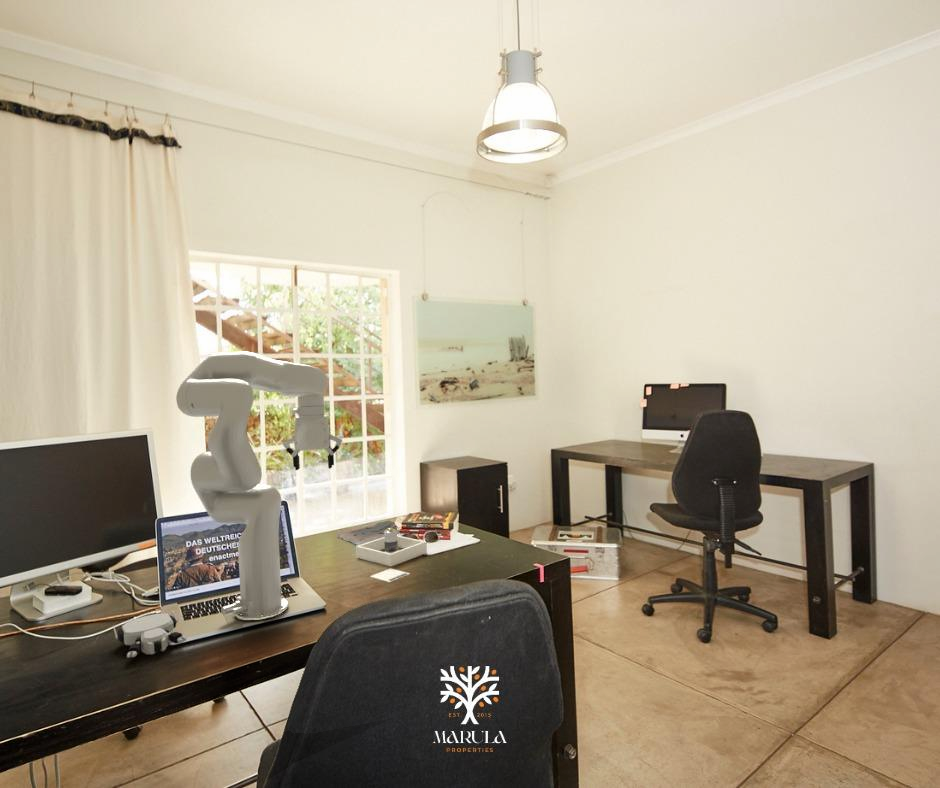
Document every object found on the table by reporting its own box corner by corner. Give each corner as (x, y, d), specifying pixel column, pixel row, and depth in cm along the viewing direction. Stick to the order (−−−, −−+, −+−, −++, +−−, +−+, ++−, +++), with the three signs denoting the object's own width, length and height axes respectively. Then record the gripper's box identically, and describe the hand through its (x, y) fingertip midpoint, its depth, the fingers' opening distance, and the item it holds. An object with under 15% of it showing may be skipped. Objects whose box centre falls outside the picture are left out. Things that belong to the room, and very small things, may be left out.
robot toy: (190, 651, 125) (173, 625, 137) (189, 631, 125) (172, 606, 136) (125, 671, 118) (113, 641, 129) (124, 650, 117) (112, 622, 129)
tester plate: (389, 585, 158) (389, 581, 158) (370, 579, 163) (369, 576, 163) (410, 576, 164) (410, 573, 164) (390, 571, 169) (390, 567, 169)
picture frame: (388, 526, 222) (337, 538, 209) (388, 520, 222) (337, 531, 209) (412, 535, 210) (359, 548, 196) (412, 528, 210) (359, 540, 196)
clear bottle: (391, 559, 179) (390, 531, 179) (382, 556, 182) (380, 529, 181) (400, 555, 182) (399, 527, 182) (391, 553, 185) (390, 526, 184)
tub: (390, 569, 171) (390, 554, 171) (356, 560, 181) (355, 546, 181) (426, 555, 183) (426, 541, 183) (392, 547, 193) (392, 534, 193)
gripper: (279, 413, 168) (281, 472, 169) (339, 411, 170) (341, 469, 171) (284, 412, 176) (287, 468, 176) (342, 409, 178) (344, 465, 178)
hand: (314, 468), depth 174 cm, fingers open, 9 cm apart
